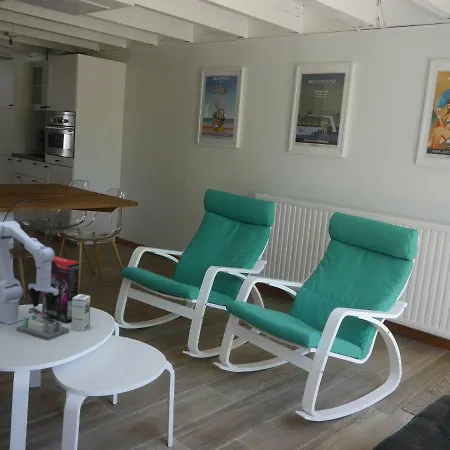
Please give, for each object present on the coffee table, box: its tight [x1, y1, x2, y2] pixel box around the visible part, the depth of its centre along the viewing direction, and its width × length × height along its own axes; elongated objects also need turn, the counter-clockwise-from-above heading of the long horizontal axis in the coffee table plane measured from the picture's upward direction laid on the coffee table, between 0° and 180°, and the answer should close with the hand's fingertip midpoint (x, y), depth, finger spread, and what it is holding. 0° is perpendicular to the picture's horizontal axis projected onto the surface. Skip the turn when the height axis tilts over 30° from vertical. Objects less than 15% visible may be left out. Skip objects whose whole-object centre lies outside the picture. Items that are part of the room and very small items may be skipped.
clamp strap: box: [27, 307, 58, 326], centre depth 220 cm, size 15×3×2 cm, turn 63°
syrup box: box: [71, 293, 91, 332], centre depth 228 cm, size 6×6×14 cm
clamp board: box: [15, 314, 70, 341], centre depth 222 cm, size 18×12×5 cm, turn 63°
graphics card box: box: [41, 255, 80, 323], centre depth 238 cm, size 17×7×27 cm, turn 58°
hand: (42, 308), depth 220 cm, fingers open, 7 cm apart
